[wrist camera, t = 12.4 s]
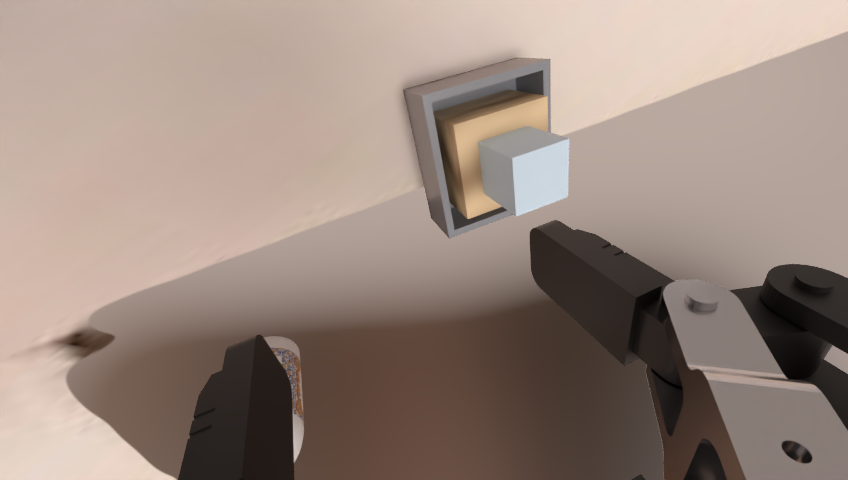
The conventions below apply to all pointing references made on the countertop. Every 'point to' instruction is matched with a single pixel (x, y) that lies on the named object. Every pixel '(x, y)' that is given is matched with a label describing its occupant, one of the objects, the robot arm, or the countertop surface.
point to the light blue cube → (525, 169)
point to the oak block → (475, 124)
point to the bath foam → (291, 382)
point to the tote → (455, 91)
